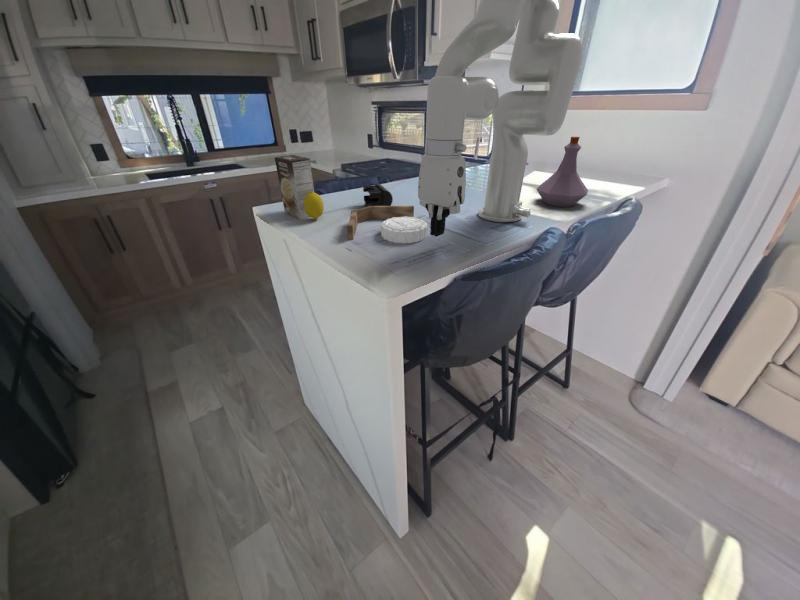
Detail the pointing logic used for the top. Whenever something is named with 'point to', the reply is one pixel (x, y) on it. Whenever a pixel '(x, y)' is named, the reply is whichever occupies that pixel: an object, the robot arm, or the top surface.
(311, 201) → the lemon
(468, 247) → the top surface
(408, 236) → the mooncake
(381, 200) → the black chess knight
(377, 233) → the top surface
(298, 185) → the coffee box
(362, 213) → the centring jig
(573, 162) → the flask
